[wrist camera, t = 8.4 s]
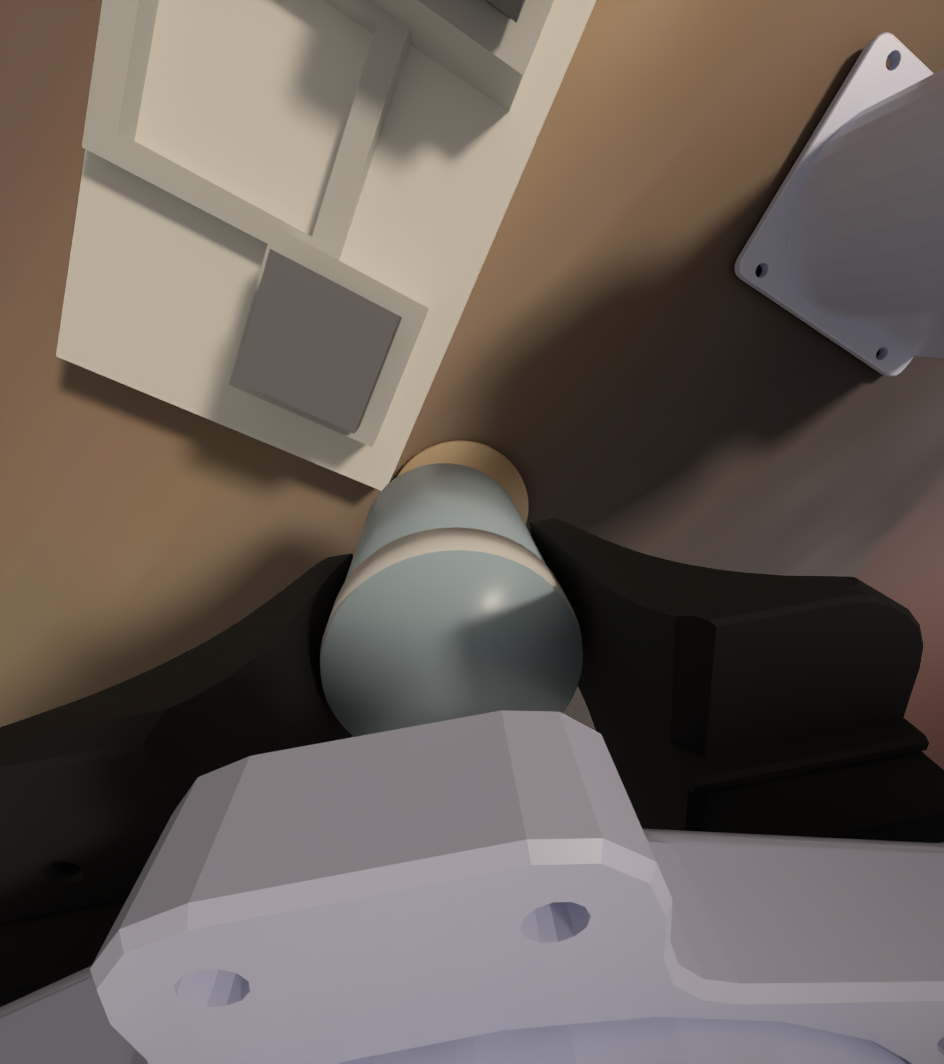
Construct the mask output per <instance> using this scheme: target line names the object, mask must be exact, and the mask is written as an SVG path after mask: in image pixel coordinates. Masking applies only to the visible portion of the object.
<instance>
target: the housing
mask: <svg viewBox="0 0 944 1064" xmlns="http://www.w3.org/2000/svg"><path fill="white" fill-rule="evenodd" d="M595 3H596V0H525V2H524V5H523V7H522V10H521V12H520V15H519V18H518V20H517V23H516V22H515V21H513V20H512V19H511V18H509V17H508V16H507V15H505V14H504V13H503V12H500V11H498V10H497V9H496V8H494V7H493V6H492V5H490V4H489V3H488V2H486V1H485V0H102V7H101V15H100V22H99V29H98V36H97V43H96V50H95V57H94V64H93V71H92V79H91V86H90V93H89V100H88V107H87V114H86V121H85V128H84V135H83V143H82V147H83V148H84V149H86V150H85V157H84V164H83V171H82V178H81V185H80V192H79V199H78V206H77V213H76V220H75V227H74V234H73V241H72V248H71V255H70V262H69V269H68V276H67V283H66V290H65V297H64V303H63V310H62V317H61V324H60V331H59V338H58V345H57V352H56V357H59V358H61V359H64V360H66V361H68V362H71V363H73V364H76V365H78V366H81V367H83V368H85V369H88V370H90V371H93V372H95V373H97V374H100V375H102V376H105V377H107V378H110V379H112V380H114V381H117V382H119V383H122V384H124V385H127V386H129V387H131V388H134V389H136V390H139V391H141V392H143V393H146V394H148V395H151V396H153V397H156V398H158V399H160V400H163V401H165V402H168V403H170V404H172V405H175V406H177V407H180V408H182V409H185V410H187V411H189V412H192V413H194V414H197V415H199V416H201V417H204V418H206V419H209V420H211V421H214V422H216V423H218V424H221V425H223V426H226V427H228V428H231V429H233V430H235V431H238V432H240V433H243V434H245V435H247V436H250V437H252V438H255V439H257V440H260V441H262V442H264V443H267V444H269V445H272V446H274V447H276V448H279V449H281V450H284V451H286V452H289V453H291V454H293V455H296V456H298V457H301V458H303V459H306V460H308V461H310V462H313V463H315V464H318V465H320V466H322V467H325V468H327V469H330V470H332V471H335V472H337V473H339V474H342V475H344V476H347V477H349V478H351V479H354V480H356V481H359V482H361V483H364V484H366V485H368V486H371V487H373V488H376V489H378V490H380V491H382V490H383V489H384V488H385V487H386V486H387V485H388V484H389V482H390V479H391V477H392V475H393V472H394V470H395V468H396V465H397V463H398V461H399V458H400V456H401V454H402V451H403V449H404V447H405V445H406V442H407V440H408V438H409V435H410V433H411V431H412V428H413V426H414V424H415V421H416V419H417V417H418V414H419V412H420V410H421V407H422V405H423V403H424V400H425V398H426V396H427V393H428V391H429V389H430V386H431V384H432V382H433V379H434V377H435V375H436V372H437V370H438V368H439V365H440V363H441V361H442V358H443V356H444V354H445V351H446V349H447V347H448V344H449V342H450V340H451V337H452V335H453V333H454V331H455V328H456V326H457V324H458V321H459V319H460V317H461V314H462V312H463V310H464V307H465V305H466V303H467V300H468V298H469V296H470V293H471V291H472V289H473V286H474V284H475V282H476V279H477V277H478V275H479V272H480V270H481V268H482V265H483V263H484V261H485V258H486V256H487V254H488V251H489V249H490V247H491V244H492V242H493V240H494V237H495V235H496V233H497V230H498V228H499V226H500V224H501V221H502V219H503V217H504V214H505V212H506V210H507V207H508V205H509V203H510V200H511V198H512V196H513V193H514V191H515V189H516V186H517V184H518V182H519V179H520V177H521V175H522V172H523V170H524V168H525V165H526V163H527V161H528V158H529V156H530V154H531V151H532V149H533V147H534V144H535V142H536V140H537V137H538V135H539V133H540V130H541V128H542V126H543V123H544V121H545V119H546V117H547V114H548V112H549V110H550V107H551V105H552V103H553V100H554V98H555V96H556V93H557V91H558V89H559V86H560V84H561V82H562V79H563V77H564V75H565V72H566V70H567V68H568V65H569V63H570V61H571V58H572V56H573V54H574V51H575V49H576V47H577V44H578V42H579V40H580V37H581V35H582V33H583V30H584V28H585V26H586V23H587V21H588V19H589V16H590V14H591V12H592V10H593V7H594V5H595ZM270 249H272V250H274V251H275V252H277V253H279V254H281V255H283V256H285V257H287V258H289V259H291V260H293V261H295V262H297V263H299V264H300V265H302V266H304V267H306V268H308V269H310V270H312V271H314V272H316V273H318V274H320V275H322V276H324V277H325V278H327V279H329V280H331V281H333V282H335V283H337V284H339V285H341V286H343V287H345V288H347V289H349V290H351V291H352V292H354V293H356V294H358V295H360V296H362V297H364V298H366V299H368V300H370V301H372V302H374V303H376V304H377V305H379V306H381V307H383V308H385V309H387V310H389V311H391V312H393V313H395V314H397V315H399V316H400V317H402V319H401V322H400V324H399V327H398V329H397V332H396V335H395V337H394V340H393V342H392V345H391V348H390V350H389V353H388V355H387V358H386V360H385V363H384V366H383V368H382V371H381V373H380V376H379V378H378V381H377V384H376V386H375V389H374V391H373V394H372V396H371V399H370V402H369V404H368V407H367V409H366V412H365V414H364V417H363V420H362V422H361V425H360V427H359V428H358V430H357V431H356V432H355V434H354V433H352V432H349V431H347V430H345V429H343V428H340V427H338V426H336V425H334V424H331V423H329V422H327V421H324V420H322V419H320V418H318V417H315V416H313V415H311V414H309V413H306V412H304V411H302V410H299V409H297V408H295V407H293V406H290V405H288V404H286V403H283V402H281V401H279V400H277V399H274V398H272V397H270V396H268V395H265V394H263V393H261V392H258V391H256V390H254V389H252V388H249V387H247V386H245V385H243V384H240V383H238V382H236V381H233V379H234V376H235V372H236V368H237V365H238V361H239V358H240V354H241V350H242V347H243V343H244V340H245V336H246V333H247V329H248V325H249V322H250V318H251V315H252V311H253V308H254V304H255V300H256V297H257V293H258V290H259V286H260V282H261V279H262V275H263V272H264V268H265V265H266V261H267V257H268V254H269V250H270Z"/></svg>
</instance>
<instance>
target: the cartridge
mask: <svg viewBox="0 0 944 1064" xmlns="http://www.w3.org/2000/svg"><path fill="white" fill-rule="evenodd" d="M582 663H583V648H582V637H581V632H580V627H579V623H578V620H577V618H576V615H575V613H574V610H573V608H572V606H571V604H570V603H569V601H568V599H567V597H566V595H565V593H564V591H563V590H562V588H561V586H560V584H559V582H558V581H557V579H556V577H555V576H554V574H553V573H552V572H551V570H550V569H549V568H548V567H547V565H546V563H545V561H544V559H543V557H542V555H541V553H540V552H539V550H538V548H537V546H536V544H535V542H534V540H533V538H532V536H531V534H530V532H529V530H528V529H527V527H526V525H525V523H524V521H523V519H522V517H521V515H520V513H519V511H518V509H517V507H516V506H515V504H514V502H513V500H512V499H511V497H510V496H509V494H508V493H507V492H506V490H505V489H504V488H503V487H502V486H501V485H500V484H499V483H498V482H496V481H495V480H494V479H492V478H491V477H490V476H488V475H486V474H484V473H483V472H481V471H479V470H476V469H474V468H471V467H468V466H464V465H459V464H451V463H436V464H429V465H424V466H421V467H417V468H414V469H412V470H410V471H407V472H405V473H403V474H402V475H400V476H398V477H397V478H395V479H394V480H393V481H391V482H390V483H389V484H388V485H387V486H386V487H385V488H384V489H383V490H382V491H381V492H380V493H379V495H378V496H377V497H376V499H375V500H374V502H373V504H372V506H371V508H370V510H369V512H368V515H367V518H366V521H365V524H364V527H363V530H362V533H361V536H360V539H359V542H358V544H357V547H356V550H355V553H354V556H353V559H352V562H351V565H350V568H349V571H348V574H347V577H346V580H345V583H344V584H343V586H342V588H341V590H340V592H339V594H338V596H337V598H336V600H335V603H334V606H333V609H332V612H331V615H330V617H329V620H328V623H327V626H326V629H325V632H324V635H323V638H322V644H321V650H320V669H321V681H322V687H323V690H324V693H325V696H326V699H327V702H328V704H329V706H330V708H331V710H332V711H333V713H334V715H335V716H336V718H337V719H338V720H339V722H340V723H341V724H342V726H343V727H344V728H345V729H346V730H347V731H348V732H349V733H350V734H351V735H352V736H354V737H357V736H362V735H368V734H373V733H379V732H384V731H390V730H395V729H401V728H406V727H412V726H417V725H423V724H428V723H434V722H439V721H445V720H450V719H456V718H461V717H467V716H473V715H478V714H484V713H489V712H495V711H500V710H511V711H556V712H561V713H563V712H564V710H565V709H566V707H567V706H568V704H569V702H570V701H571V699H572V697H573V695H574V693H575V691H576V688H577V686H578V683H579V679H580V676H581V672H582Z"/></svg>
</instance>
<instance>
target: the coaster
mask: <svg viewBox="0 0 944 1064" xmlns="http://www.w3.org/2000/svg"><path fill="white" fill-rule="evenodd" d="M436 463H451V464H459V465H464V466H468V467H471V468H474V469H476V470H479V471H481V472H483V473H484V474H486V475H488V476H490V477H491V478H492V479H494V480H495V481H496V482H498V483H499V484H500V485H501V486H502V487H503V488H504V489H505V490H506V492H507V493H508V494H509V496H510V497H511V499H512V500H513V502H514V504H515V506H516V507H517V509H518V511H519V513H520V515H521V517H522V519H523V521H524V523H525V525H526V522H527V517H528V508H529V503H528V495H527V491H526V487H525V484H524V482H523V480H522V478H521V476H520V474H519V472H518V471H517V469H516V468H515V467H514V465H513V464H512V463H511V462H510V461H509V460H508V459H507V458H506V457H505V456H504V455H503V454H501V453H500V452H499V451H497V450H495V449H494V448H492V447H490V446H488V445H485V444H482V443H479V442H475V441H470V440H450V441H444V442H440V443H437V444H434V445H431V446H429V447H427V448H425V449H423V450H422V451H420V452H419V453H417V454H416V455H415V456H413V457H412V458H411V459H410V460H409V461H408V462H407V463H406V464H405V465H404V467H403V468H402V470H401V471H400V472H399V474H398V476H400V475H402V474H403V473H405V472H407V471H410V470H412V469H414V468H417V467H421V466H424V465H429V464H436ZM398 476H397V477H398Z"/></svg>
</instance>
